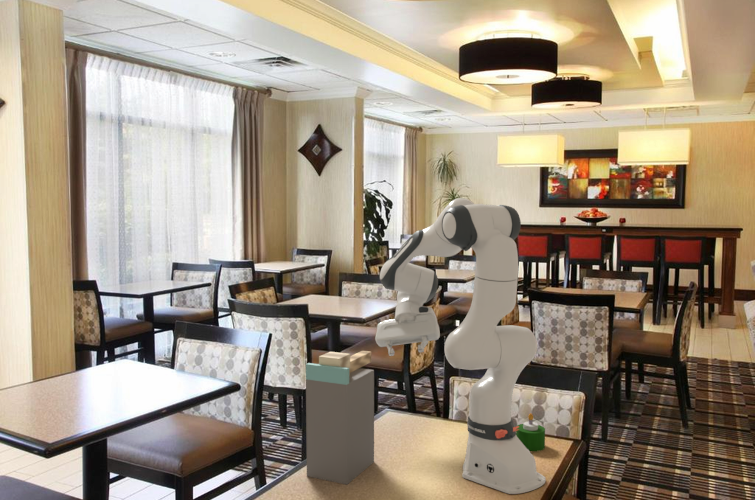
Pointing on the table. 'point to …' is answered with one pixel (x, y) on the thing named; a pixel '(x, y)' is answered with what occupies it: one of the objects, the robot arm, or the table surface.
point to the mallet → (346, 360)
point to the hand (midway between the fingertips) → (405, 353)
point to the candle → (531, 435)
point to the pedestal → (339, 422)
